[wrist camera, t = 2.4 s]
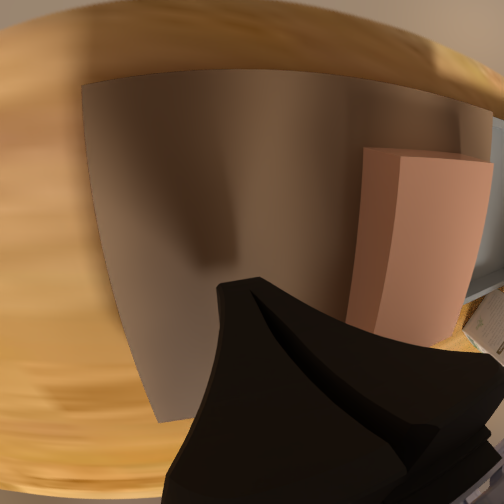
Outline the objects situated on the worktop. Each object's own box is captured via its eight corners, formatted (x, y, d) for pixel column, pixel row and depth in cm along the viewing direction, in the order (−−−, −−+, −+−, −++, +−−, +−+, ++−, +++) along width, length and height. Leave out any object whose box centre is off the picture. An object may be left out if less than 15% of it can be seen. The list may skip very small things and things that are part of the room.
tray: (526, 131, 18) (543, 136, 17) (501, 270, 24) (515, 279, 23) (440, 104, 15) (465, 107, 13) (412, 304, 21) (429, 319, 19)
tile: (461, 153, 12) (493, 163, 10) (428, 316, 16) (451, 335, 14) (363, 147, 10) (400, 156, 9) (340, 347, 14) (362, 375, 12)
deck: (440, 104, 15) (492, 112, 11) (412, 304, 21) (448, 335, 17) (103, 95, 10) (81, 85, 7) (152, 367, 16) (158, 423, 13)
